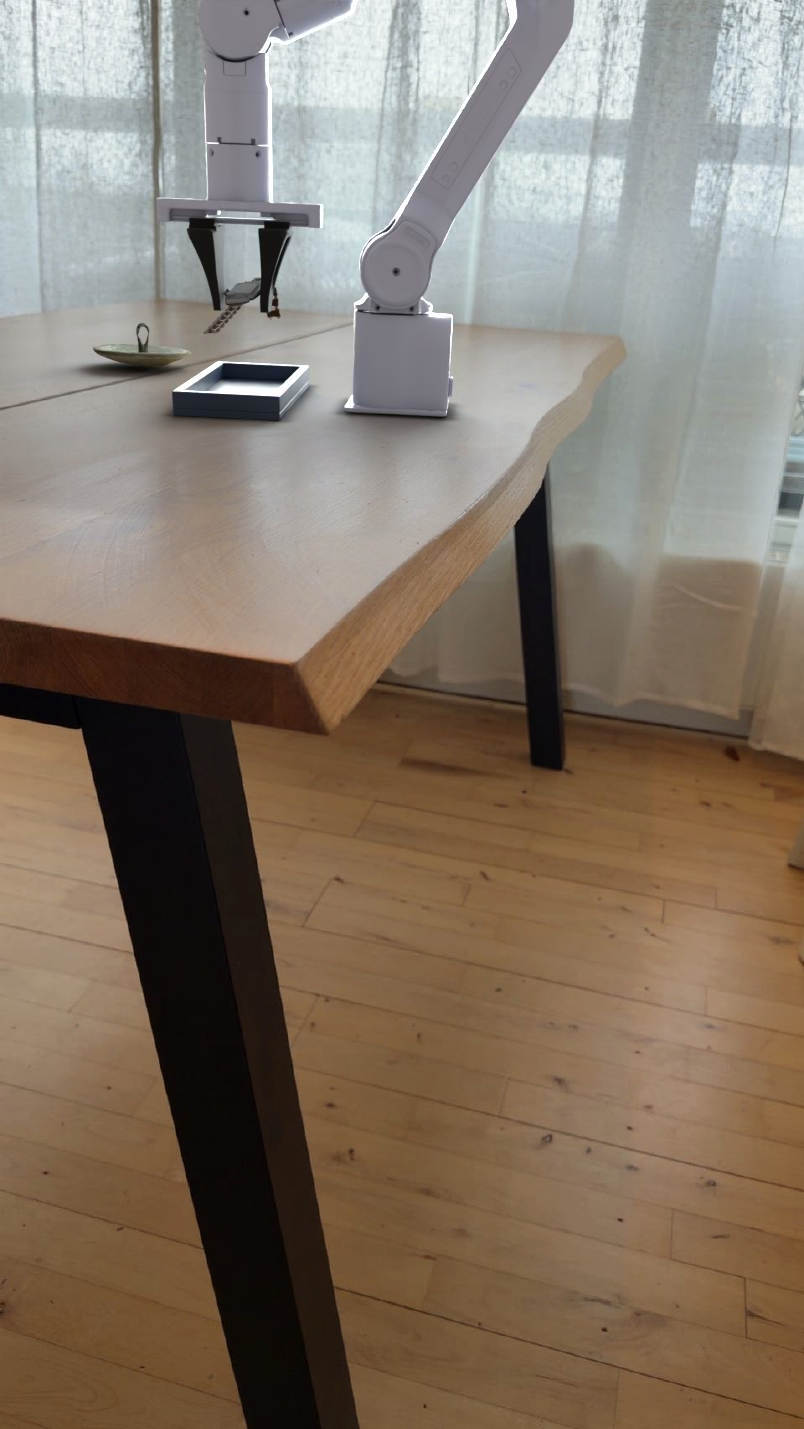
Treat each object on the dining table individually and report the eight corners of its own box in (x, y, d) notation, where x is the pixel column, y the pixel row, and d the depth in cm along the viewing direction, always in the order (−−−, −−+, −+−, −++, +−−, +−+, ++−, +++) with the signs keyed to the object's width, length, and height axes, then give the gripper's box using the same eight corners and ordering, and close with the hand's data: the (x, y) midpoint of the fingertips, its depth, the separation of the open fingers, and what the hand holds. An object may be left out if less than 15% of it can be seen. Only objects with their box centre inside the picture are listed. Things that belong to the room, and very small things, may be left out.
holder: (218, 382, 120) (217, 361, 119) (309, 386, 119) (309, 365, 118) (172, 415, 102) (171, 391, 101) (279, 420, 101) (279, 396, 101)
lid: (182, 393, 124) (198, 348, 123) (92, 357, 120) (107, 311, 119) (175, 380, 133) (190, 339, 132) (91, 346, 130) (105, 303, 128)
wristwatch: (293, 315, 111) (280, 263, 108) (240, 379, 101) (224, 323, 98) (259, 318, 112) (246, 267, 109) (203, 381, 102) (187, 326, 99)
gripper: (144, 140, 96) (153, 311, 101) (316, 147, 95) (315, 318, 101) (164, 143, 102) (171, 304, 108) (326, 150, 102) (324, 311, 107)
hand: (242, 310), depth 105 cm, fingers closed on wristwatch, 4 cm apart
